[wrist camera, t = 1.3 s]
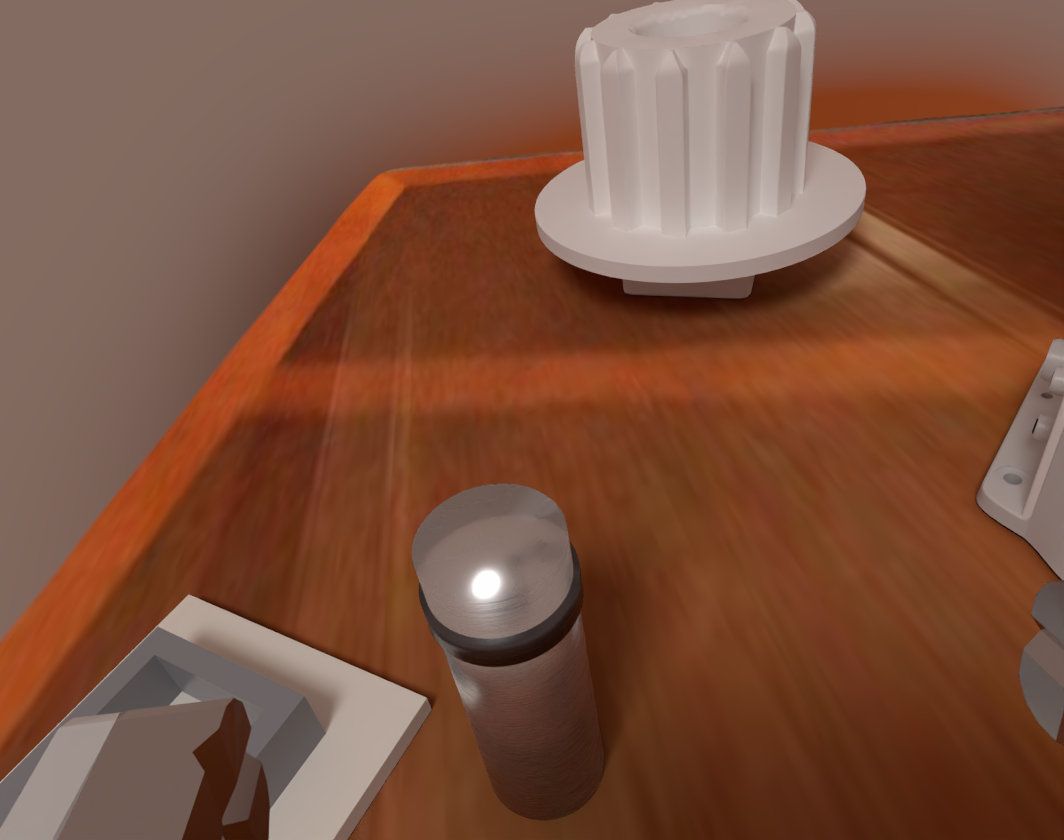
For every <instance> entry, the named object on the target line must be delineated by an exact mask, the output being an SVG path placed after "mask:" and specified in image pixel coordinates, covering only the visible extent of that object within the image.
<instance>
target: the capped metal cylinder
mask: <svg viewBox="0 0 1064 840" xmlns="http://www.w3.org/2000/svg"><path fill="white" fill-rule="evenodd" d="M412 559H413V564H414V567H415V570H416V573H417V576H418V579H419V581H420V582H419V598H420V603H421V606H422V609H423V611H424V614H425V617H426V620H427V622H428V625H429V628H430V631H431V633H432V635H433V636H434V638H435V640H436V641H437V642H438V644H439V645H440V646H441V647H442V648H443V649H444V652H445V654H446V657H447V660H448V663H449V666H450V669H451V671H452V674H453V677H454V680H455V683H456V685H457V688H458V691H459V694H460V697H461V699H462V702H463V705H464V708H465V711H466V714H467V716H468V719H469V722H470V725H471V728H472V730H473V733H474V736H475V739H476V742H477V744H478V747H479V750H480V753H481V756H482V759H483V761H484V764H485V767H486V770H487V773H488V775H489V778H490V781H491V784H492V787H493V789H494V791H495V793H496V795H497V796H498V798H499V799H500V800H501V802H502V803H503V804H504V805H505V806H506V807H508V808H509V809H510V810H511V811H513V812H515V813H516V814H518V815H521V816H523V817H526V818H530V819H534V820H552V819H557V818H561V817H564V816H566V815H569V814H571V813H573V812H574V811H576V810H578V809H579V808H580V807H582V806H583V805H584V804H585V803H586V802H587V801H588V800H589V799H590V798H591V797H592V795H593V794H594V792H595V791H596V789H597V787H598V785H599V783H600V781H601V778H602V775H603V770H604V750H603V744H602V738H601V732H600V726H599V720H598V714H597V708H596V702H595V695H594V689H593V683H592V677H591V671H590V665H589V659H588V653H587V647H586V640H585V634H584V628H583V622H582V616H581V607H582V602H583V586H582V579H581V573H580V566H579V561H578V557H577V554H576V551H575V549H574V547H573V546H572V544H571V542H570V541H569V537H568V530H567V525H566V520H565V518H564V515H563V513H562V511H561V510H560V508H559V507H558V506H557V505H556V503H555V502H554V501H553V500H551V499H550V498H549V497H548V496H546V495H545V494H543V493H541V492H539V491H537V490H535V489H532V488H529V487H526V486H521V485H516V484H490V485H484V486H479V487H475V488H471V489H469V490H466V491H463V492H461V493H459V494H456V495H454V496H452V497H451V498H449V499H447V500H446V501H444V502H443V503H441V504H440V505H439V506H437V507H436V508H435V509H434V510H433V511H432V512H431V513H430V514H429V515H428V516H427V517H426V518H425V519H424V521H423V522H422V524H421V525H420V527H419V529H418V531H417V532H416V535H415V538H414V541H413V546H412Z"/></svg>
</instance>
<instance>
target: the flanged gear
mask: <svg viewBox="0 0 1064 840" xmlns="http://www.w3.org/2000/svg"><path fill="white" fill-rule="evenodd" d="M816 32H817V27H816V21H815V20H814V18H813V17H812V15H811V14H810V13H809V12H808V11H805V10H804V9H803V7H802V5H801V4H800V3H798V1H797V0H674V1H668V2H663V3H658V2H654V3H653V5H648V6H645V7H640V8H636V9H633V10H630V11H626V12H623V13H620V14H611V15H610V16H609V17H608V18H607V19H606V20H604V21H602V22H600V23H599V24H597V25H596V26H595V27H593V28H585V29H584V31H583V32H582V33H581V35H580V37H579V39H578V41H577V43H576V50H575V55H576V56H575V72H576V81H577V91H578V102H579V112H580V122H581V132H582V142H583V151H584V160H583V161H580V162H578V163H576V164H575V165H573V166H571V167H569V168H568V169H566V170H564V171H563V172H561V173H560V174H559V175H557V176H556V177H555V178H554V179H552V180H551V181H550V182H549V183H548V184H547V185H546V186H545V187H544V189H543V190H542V191H541V193H540V194H539V196H538V199H537V201H536V205H535V217H536V224H537V230H538V234H539V236H540V238H541V240H542V242H543V243H544V245H545V246H546V247H547V248H548V249H549V250H550V251H551V252H552V253H554V254H555V255H556V256H558V257H559V258H561V259H562V260H564V261H566V262H568V263H570V264H572V265H574V266H576V267H579V268H581V269H584V270H587V271H590V272H593V273H597V274H601V275H605V276H609V277H614V278H619V279H623V289H624V292H625V293H627V294H631V295H648V296H673V297H698V298H723V299H743V298H746V297H748V296H749V295H750V294H751V291H752V286H753V282H754V277H755V275H756V274H761V273H765V272H769V271H773V270H777V269H780V268H783V267H786V266H790V265H793V264H795V263H798V262H801V261H803V260H806V259H808V258H810V257H813V256H815V255H817V254H819V253H821V252H823V251H825V250H826V249H828V248H830V247H831V246H833V245H835V244H836V243H837V242H839V241H840V240H842V239H843V238H844V237H845V236H846V235H847V234H849V232H850V231H851V230H852V229H853V228H854V227H855V226H856V224H857V223H858V221H859V219H860V217H861V215H862V212H863V208H864V200H865V192H866V183H865V179H864V177H863V175H862V173H861V171H860V170H859V169H858V167H857V166H856V165H855V164H854V163H853V162H851V161H850V160H849V159H848V158H846V157H844V156H843V155H841V154H839V153H838V152H836V151H834V150H831V149H829V148H827V147H824V146H822V145H819V144H816V143H812V142H809V141H808V135H809V120H810V108H811V97H812V83H813V70H814V58H815V46H816Z"/></svg>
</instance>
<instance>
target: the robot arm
mask: <svg viewBox="0 0 1064 840" xmlns="http://www.w3.org/2000/svg"><path fill="white" fill-rule="evenodd" d="M976 500H977V503H978V505H979V506H980V507H981V509H982V510H984V511H985V512H986V513H987V514H988V515H989V516H991V517H992V518H994V519H995V520H997V521H998V522H999V523H1001V524H1003V525H1004V526H1006V527H1007V528H1009V529H1010V530H1012V531H1014V532H1015V533H1017V534H1018V535H1020V536H1022V537H1023V538H1025V539H1026V540H1027V541H1028V542H1029V543H1030V544H1031V545H1032V546H1033V547H1034V548H1035V549H1036V550H1037V551H1038V553H1039V554H1040V555H1041V556H1042V557H1043V559H1044V560H1045V561H1046V562H1047V563H1048V565H1049V566H1050V567H1051V568H1052V569H1053V571H1054V572H1055V573H1056V574H1057V575H1058V576H1059V577H1060V578H1061V579H1062V580H1060V581H1053V582H1047V583H1046V584H1045V585H1044V586H1043V588H1042V589H1041V590H1040V591H1039V592H1038V593H1037V594H1036V597H1035V601H1034V605H1033V609H1032V613H1031V616H1032V617H1033V619H1034V620H1035V622H1036V623H1037V625H1038V626H1039V628H1040V629H1041V630H1040V631H1039V632H1038V634H1037V635H1036V636H1035V637H1034V638H1033V639H1032V640H1031V641H1030V642H1029V643H1028V645H1027V646H1026V647H1025V648H1024V649H1023V653H1022V659H1021V665H1020V670H1019V678H1020V682H1021V686H1022V690H1023V694H1024V697H1025V701H1026V703H1027V705H1028V706H1029V708H1030V710H1031V711H1032V713H1033V715H1034V717H1035V718H1036V720H1037V722H1038V723H1039V724H1040V725H1041V726H1042V727H1043V728H1044V729H1045V730H1046V731H1047V732H1048V733H1049V735H1050V736H1051V737H1052V738H1053V739H1054V740H1055V741H1056V742H1058V743H1060V744H1062V745H1064V339H1060V338H1058V339H1053V341H1052V344H1051V346H1050V349H1049V352H1048V354H1047V357H1046V359H1045V360H1044V362H1043V364H1042V366H1041V368H1040V370H1039V372H1038V374H1037V375H1036V377H1035V379H1034V381H1033V383H1032V385H1031V387H1030V389H1029V391H1028V393H1027V395H1026V397H1025V399H1024V401H1023V403H1022V405H1021V407H1020V409H1019V411H1018V413H1017V415H1016V417H1015V419H1014V421H1013V423H1012V425H1011V427H1010V429H1009V431H1008V433H1007V435H1006V437H1005V439H1004V441H1003V443H1002V445H1001V447H1000V449H999V451H998V452H997V454H996V456H995V458H994V460H993V462H992V464H991V466H990V468H989V470H988V472H987V474H986V476H985V478H984V480H983V482H982V484H981V486H980V488H979V490H978V493H977V496H976ZM251 729H252V728H251V725H250V722H249V719H248V716H247V713H246V710H245V707H244V704H243V702H241V701H239V700H237V699H235V698H228V699H219V700H211V701H203V702H194V703H186V704H177V705H169V706H161V707H152V708H144V709H135V710H128V711H127V712H119V713H110V714H102V715H93V716H85V717H77V718H72V719H71V720H70V721H68V722H67V723H65V724H64V725H63V726H61V727H60V728H59V729H58V730H57V732H56V733H55V735H54V737H53V738H52V740H51V742H50V743H49V745H48V747H47V749H46V750H45V752H44V754H43V755H42V757H41V759H40V761H39V762H38V764H37V766H36V767H35V769H34V771H33V773H32V774H31V776H30V778H29V779H28V781H27V783H26V785H25V786H24V788H23V790H22V791H21V793H20V795H19V797H18V798H17V800H16V802H15V803H14V805H13V807H12V809H11V810H10V812H9V814H8V816H7V817H6V819H5V821H4V822H3V824H2V826H1V828H0V840H268V839H269V818H270V802H269V794H268V785H267V780H266V776H265V773H264V769H263V765H262V763H261V762H260V761H258V760H257V759H256V758H254V757H253V756H251V755H250V754H248V753H247V752H246V747H247V744H248V740H249V736H250V732H251Z"/></svg>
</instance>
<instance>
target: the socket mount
mask: <svg viewBox="0 0 1064 840" xmlns="http://www.w3.org/2000/svg"><path fill="white" fill-rule="evenodd" d="M228 698H235V699H237V700H239V701H241V702H243V704H244V707H245V710H246V713H247V716H248V719H249V722H250V725H251V728H252V729H251V732H250V736H249V740H248V744H247V747H246V752H247V753H248V754H250V755H251V756H253V757H254V758H256V759H257V760H258V761H260V762H261V763H262V765H263V769H264V773H265V776H266V780H267V785H268V794H269V802H270V818H269V839H268V840H348V838H349V837H350V835H351V834H352V832H353V830H354V829H355V827H356V826H357V824H358V823H359V821H360V820H361V818H362V817H363V815H364V814H365V812H366V810H367V809H368V807H369V806H370V804H371V803H372V801H373V800H374V798H375V797H376V795H377V793H378V792H379V790H380V789H381V787H382V786H383V784H384V783H385V781H386V780H387V778H388V777H389V775H390V773H391V772H392V770H393V769H394V767H395V766H396V764H397V763H398V761H399V760H400V758H401V757H402V755H403V753H404V752H405V750H406V749H407V747H408V746H409V744H410V743H411V741H412V740H413V738H414V736H415V735H416V733H417V732H418V730H419V729H420V727H421V726H422V724H423V723H424V721H425V720H426V718H427V716H428V715H429V713H430V712H431V710H432V709H431V706H430V704H429V702H428V699H427V698H426V697H424V696H422V695H419V694H417V693H415V692H412V691H410V690H408V689H406V688H403V687H401V686H399V685H396V684H394V683H392V682H389V681H387V680H385V679H383V678H380V677H378V676H376V675H373V674H371V673H369V672H366V671H364V670H362V669H359V668H357V667H355V666H353V665H350V664H348V663H346V662H343V661H341V660H339V659H336V658H334V657H332V656H330V655H327V654H325V653H323V652H320V651H318V650H316V649H313V648H311V647H309V646H306V645H304V644H302V643H300V642H297V641H295V640H293V639H290V638H288V637H286V636H283V635H281V634H279V633H276V632H274V631H272V630H270V629H267V628H265V627H263V626H260V625H258V624H256V623H253V622H251V621H249V620H247V619H244V618H242V617H240V616H237V615H235V614H233V613H230V612H228V611H226V610H223V609H221V608H219V607H217V606H214V605H212V604H210V603H207V602H205V601H203V600H200V599H198V598H196V597H194V596H191V595H188V596H187V597H186V598H185V599H184V600H183V601H182V602H181V603H180V604H179V605H178V606H177V607H176V608H175V609H174V610H173V611H172V612H171V613H170V614H169V615H168V616H167V617H166V618H165V619H164V620H163V621H162V622H161V623H160V624H159V625H158V626H157V627H156V628H155V629H154V630H153V631H152V632H151V633H150V634H149V635H148V636H147V637H146V638H145V639H144V640H143V641H142V642H141V643H140V644H139V645H138V646H137V647H136V648H134V649H133V650H132V651H131V652H130V653H129V654H128V655H127V656H126V657H125V658H124V659H123V660H122V661H121V662H120V663H119V664H118V665H117V666H116V667H115V668H114V669H113V670H112V671H111V672H110V673H109V674H108V675H107V676H106V677H105V678H104V679H103V680H102V681H101V682H100V683H99V684H98V685H97V686H96V687H95V688H94V689H93V690H92V691H91V692H90V693H89V694H88V695H87V696H86V697H85V698H84V699H83V700H82V701H81V702H80V703H79V704H78V705H77V706H76V707H75V708H74V709H73V710H72V711H71V712H70V713H69V714H68V715H67V716H66V717H65V718H64V719H63V720H62V721H61V722H60V723H59V724H58V725H57V726H56V727H55V728H54V729H53V730H52V731H51V732H50V733H49V734H48V735H47V736H46V737H45V738H44V739H43V740H42V741H41V742H40V743H39V744H38V745H37V746H36V747H35V748H34V749H33V750H32V751H31V752H30V753H29V754H28V755H27V756H26V757H25V758H24V759H23V760H22V761H21V762H20V763H19V764H18V765H17V766H16V767H15V768H14V769H13V770H12V771H11V772H10V773H9V774H8V775H7V776H6V777H5V778H4V779H3V780H2V781H1V782H0V828H1V826H2V824H3V822H4V821H5V819H6V817H7V816H8V814H9V812H10V810H11V809H12V807H13V805H14V803H15V802H16V800H17V798H18V797H19V795H20V793H21V791H22V790H23V788H24V786H25V785H26V783H27V781H28V779H29V778H30V776H31V774H32V773H33V771H34V769H35V767H36V766H37V764H38V762H39V761H40V759H41V757H42V755H43V754H44V752H45V750H46V749H47V747H48V745H49V743H50V742H51V740H52V738H53V737H54V735H55V733H56V732H57V730H58V729H59V728H60V727H61V726H63V725H64V724H65V723H67V722H68V721H70V720H71V719H72V718H77V717H85V716H93V715H102V714H110V713H119V712H127V711H128V710H135V709H144V708H152V707H161V706H169V705H177V704H186V703H194V702H203V701H211V700H219V699H228Z"/></svg>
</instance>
